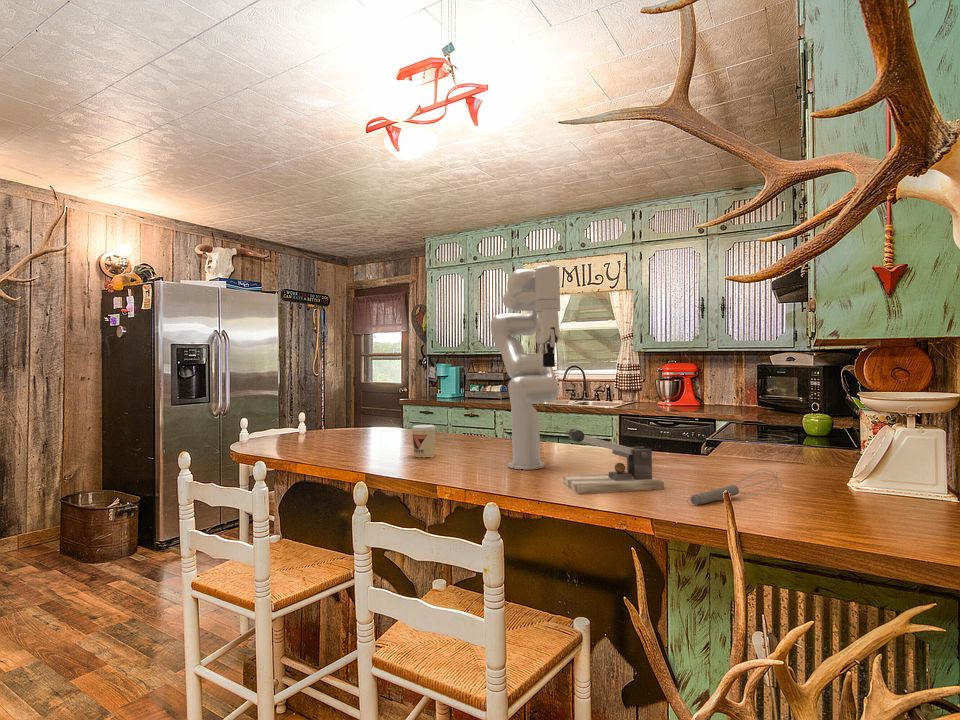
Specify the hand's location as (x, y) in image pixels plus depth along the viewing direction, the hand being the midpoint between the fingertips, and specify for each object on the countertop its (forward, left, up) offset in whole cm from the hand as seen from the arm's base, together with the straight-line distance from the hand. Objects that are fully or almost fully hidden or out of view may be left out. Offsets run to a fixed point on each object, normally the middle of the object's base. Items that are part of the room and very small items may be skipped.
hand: (548, 366), depth 166 cm
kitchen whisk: (+30, +42, -36) cm, 62 cm away
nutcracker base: (+10, +15, -35) cm, 39 cm away
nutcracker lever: (+10, +14, -25) cm, 30 cm away
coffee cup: (-54, -36, -35) cm, 74 cm away
